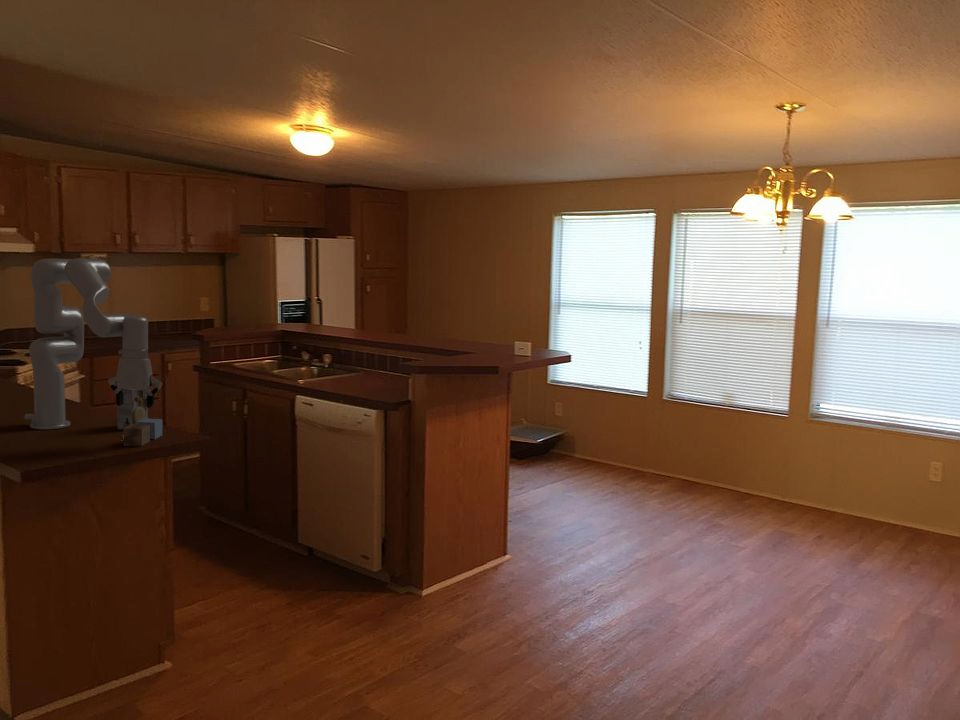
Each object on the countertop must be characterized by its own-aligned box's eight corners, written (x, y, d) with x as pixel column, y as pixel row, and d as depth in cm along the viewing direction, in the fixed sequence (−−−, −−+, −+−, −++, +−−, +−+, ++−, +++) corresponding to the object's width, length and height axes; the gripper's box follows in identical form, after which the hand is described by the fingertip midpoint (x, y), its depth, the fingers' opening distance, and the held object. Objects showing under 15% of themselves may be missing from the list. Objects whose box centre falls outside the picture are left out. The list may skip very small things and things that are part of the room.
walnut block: (123, 446, 248) (123, 428, 248) (131, 442, 254) (131, 424, 254) (141, 447, 248) (141, 428, 248) (149, 442, 254) (149, 425, 254)
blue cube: (137, 439, 258) (137, 421, 258) (145, 435, 264) (144, 418, 264) (155, 440, 258) (154, 422, 258) (162, 436, 264) (162, 419, 264)
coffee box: (133, 424, 280) (132, 381, 278) (149, 425, 279) (148, 382, 277) (116, 429, 271) (116, 384, 269) (132, 430, 270) (132, 385, 268)
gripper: (102, 354, 244) (102, 406, 246) (157, 357, 244) (156, 410, 246) (114, 351, 251) (114, 402, 254) (166, 354, 252) (166, 405, 254)
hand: (135, 406), depth 250 cm, fingers open, 9 cm apart
